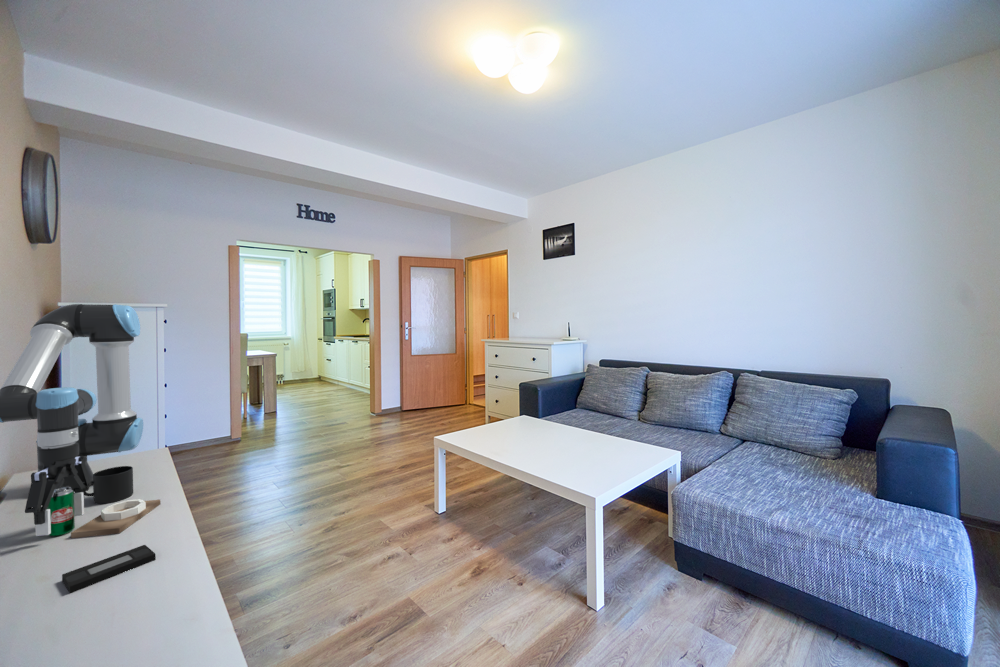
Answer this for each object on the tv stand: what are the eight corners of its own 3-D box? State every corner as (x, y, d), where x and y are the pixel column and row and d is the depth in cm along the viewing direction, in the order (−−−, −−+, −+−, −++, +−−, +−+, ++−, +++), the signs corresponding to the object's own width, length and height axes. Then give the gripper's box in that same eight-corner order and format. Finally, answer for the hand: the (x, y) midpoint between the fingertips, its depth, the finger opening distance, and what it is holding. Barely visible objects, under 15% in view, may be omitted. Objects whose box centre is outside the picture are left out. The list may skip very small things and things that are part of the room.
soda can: (49, 539, 105) (48, 495, 105) (45, 534, 108) (44, 491, 107) (77, 531, 109) (76, 488, 109) (72, 526, 112) (71, 484, 112)
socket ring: (117, 507, 120) (116, 501, 120) (151, 504, 122) (151, 498, 122) (93, 522, 111) (93, 515, 111) (131, 518, 113) (131, 511, 113)
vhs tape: (62, 583, 88) (61, 574, 88) (145, 552, 100) (144, 544, 100) (70, 595, 84) (69, 586, 84) (155, 561, 96) (155, 553, 96)
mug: (81, 501, 128) (80, 473, 128) (131, 489, 137) (130, 463, 137) (82, 510, 122) (82, 481, 122) (135, 497, 131) (134, 470, 131)
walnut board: (119, 507, 123) (119, 503, 123) (160, 504, 126) (160, 499, 126) (71, 538, 106) (71, 532, 106) (119, 533, 108) (119, 528, 108)
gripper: (37, 457, 98) (40, 545, 98) (106, 432, 120) (108, 504, 120) (-1, 459, 96) (2, 549, 97) (76, 434, 118) (78, 507, 119)
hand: (61, 524), depth 108 cm, fingers open, 10 cm apart
